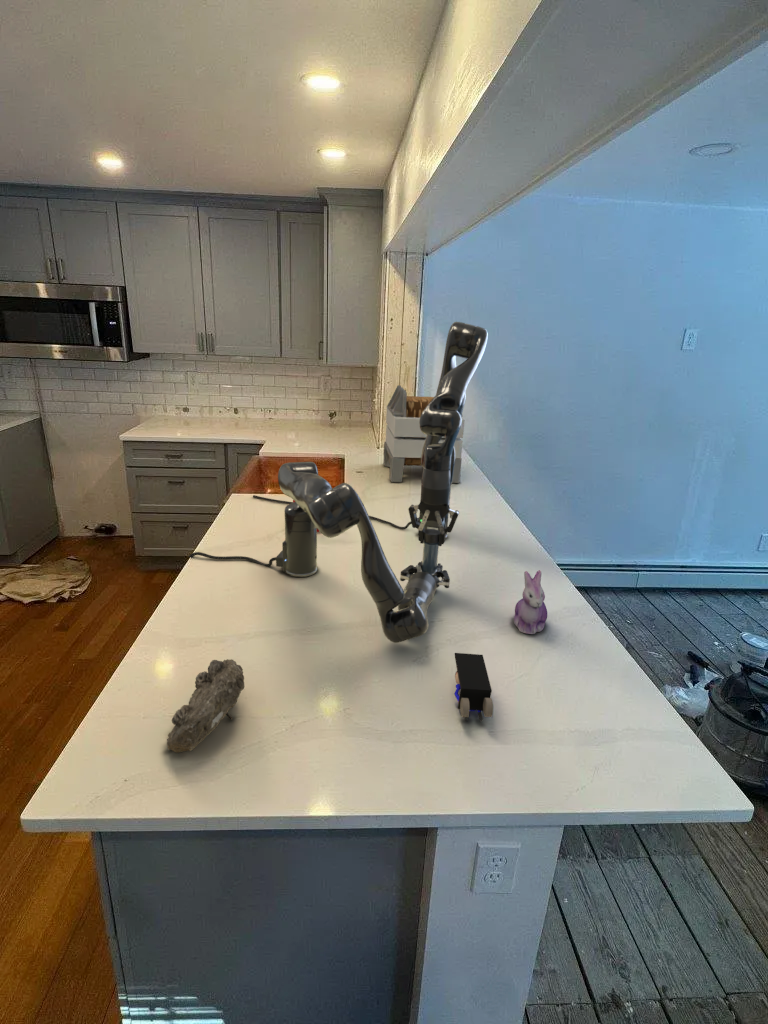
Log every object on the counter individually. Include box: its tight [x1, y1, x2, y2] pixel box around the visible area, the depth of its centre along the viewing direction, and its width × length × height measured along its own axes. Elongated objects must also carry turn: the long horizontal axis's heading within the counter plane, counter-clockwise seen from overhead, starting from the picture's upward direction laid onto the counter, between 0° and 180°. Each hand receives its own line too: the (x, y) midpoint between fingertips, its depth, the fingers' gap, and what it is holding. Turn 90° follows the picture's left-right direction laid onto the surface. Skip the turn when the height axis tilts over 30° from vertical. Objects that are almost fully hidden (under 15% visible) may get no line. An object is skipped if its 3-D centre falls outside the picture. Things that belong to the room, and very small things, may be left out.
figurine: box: [513, 569, 548, 635], centre depth 142 cm, size 9×10×15 cm
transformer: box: [383, 384, 465, 484], centre depth 268 cm, size 34×33×41 cm
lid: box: [423, 529, 440, 543], centre depth 155 cm, size 5×5×2 cm
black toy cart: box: [454, 652, 494, 722], centre depth 114 cm, size 7×8×15 cm
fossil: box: [166, 658, 245, 754], centre depth 106 cm, size 22×10×15 cm
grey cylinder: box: [421, 541, 440, 573], centre depth 158 cm, size 4×4×17 cm
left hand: (430, 565), depth 161 cm, fingers closed on grey cylinder, 4 cm apart
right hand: (431, 543), depth 156 cm, fingers closed on lid, 4 cm apart
